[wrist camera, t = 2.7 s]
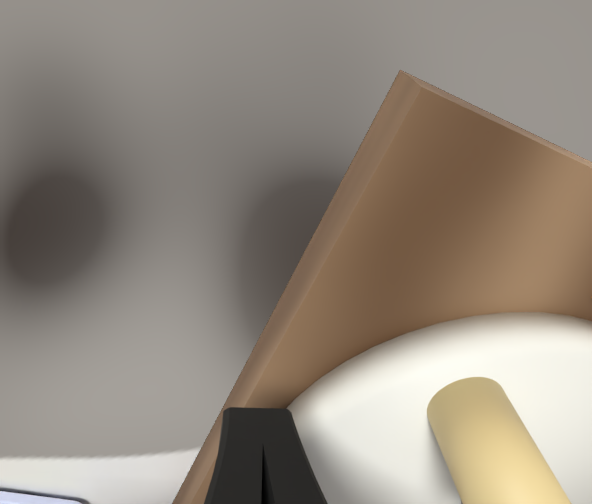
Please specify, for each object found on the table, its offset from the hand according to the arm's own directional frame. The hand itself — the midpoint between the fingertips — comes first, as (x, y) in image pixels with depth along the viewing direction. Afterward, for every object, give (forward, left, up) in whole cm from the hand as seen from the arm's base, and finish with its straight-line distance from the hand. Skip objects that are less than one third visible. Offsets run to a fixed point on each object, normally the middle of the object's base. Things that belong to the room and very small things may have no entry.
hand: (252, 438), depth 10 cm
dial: (+9, -3, -3) cm, 10 cm away
